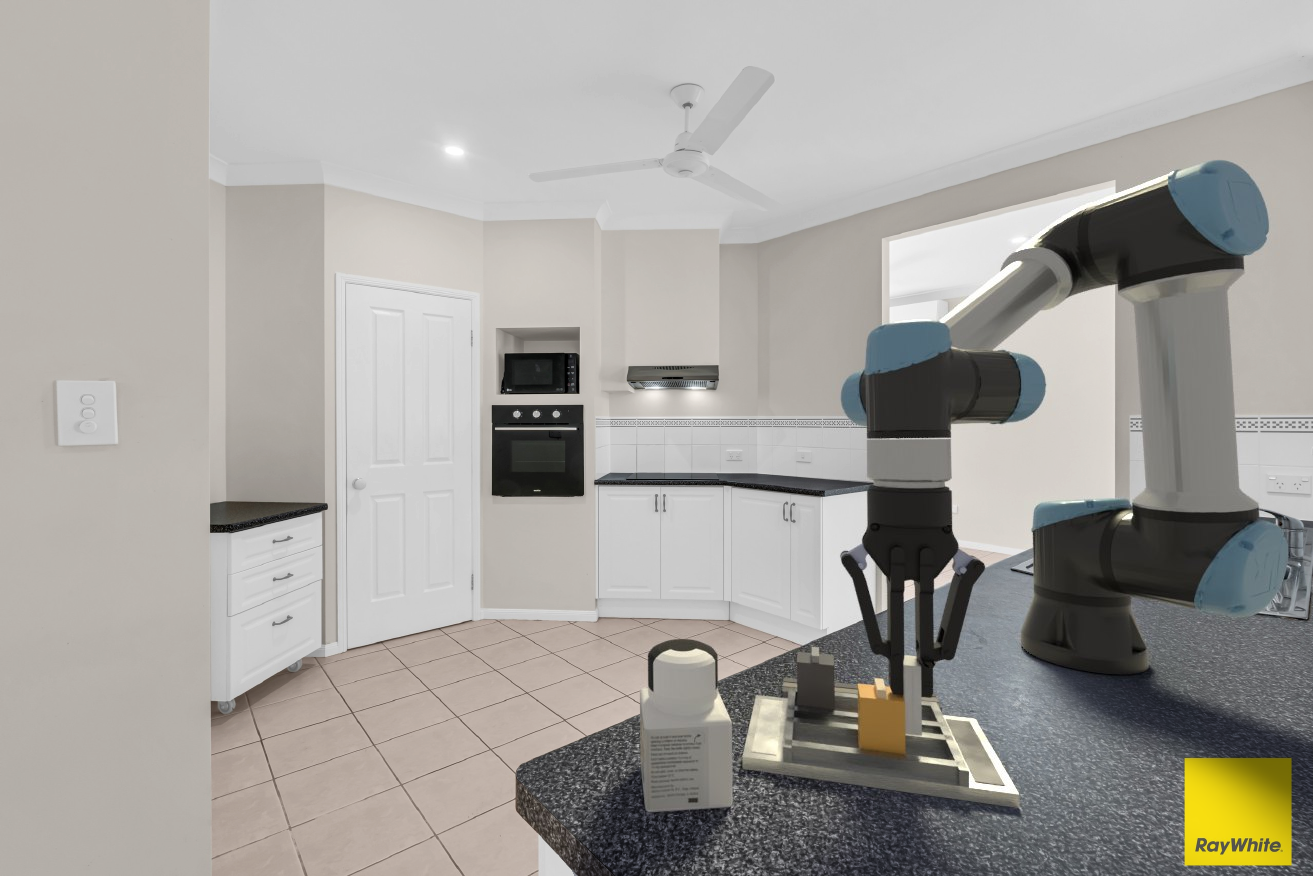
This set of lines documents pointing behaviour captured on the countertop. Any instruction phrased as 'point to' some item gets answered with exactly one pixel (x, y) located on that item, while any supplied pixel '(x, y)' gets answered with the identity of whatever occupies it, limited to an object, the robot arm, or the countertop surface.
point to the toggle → (815, 680)
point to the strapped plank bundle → (842, 690)
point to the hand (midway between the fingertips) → (910, 727)
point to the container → (684, 730)
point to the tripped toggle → (880, 718)
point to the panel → (829, 751)
